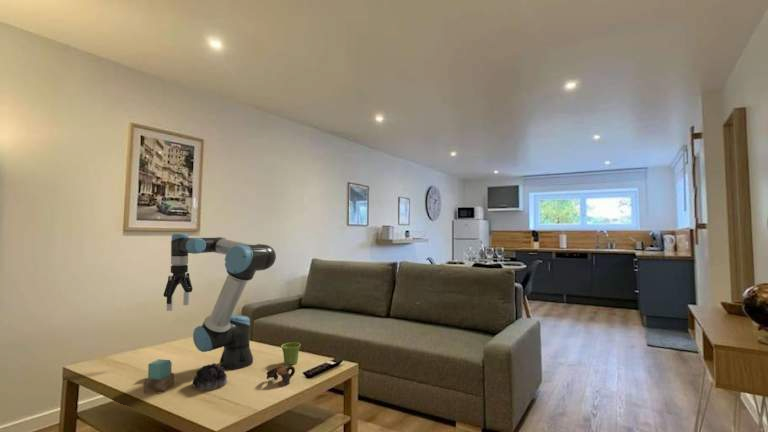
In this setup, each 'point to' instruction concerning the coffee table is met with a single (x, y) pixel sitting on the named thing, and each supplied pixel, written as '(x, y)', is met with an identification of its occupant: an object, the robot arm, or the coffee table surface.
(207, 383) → the crystal cluster
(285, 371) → the brown animal figurine
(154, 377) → the teal cube
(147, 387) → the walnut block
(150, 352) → the coffee table surface
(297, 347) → the plant pot
